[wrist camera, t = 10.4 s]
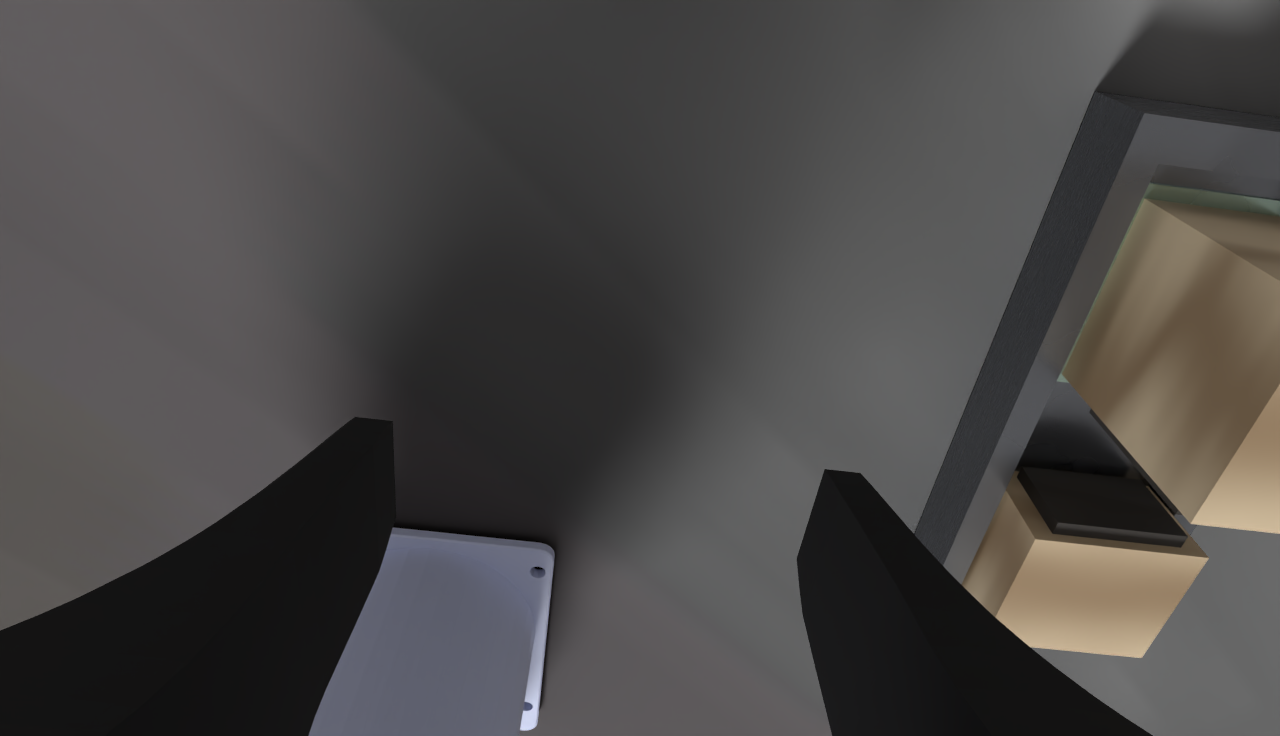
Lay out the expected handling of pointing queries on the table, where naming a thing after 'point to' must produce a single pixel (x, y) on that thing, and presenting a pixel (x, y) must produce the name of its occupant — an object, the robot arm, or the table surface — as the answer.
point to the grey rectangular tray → (1085, 299)
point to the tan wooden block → (1192, 361)
